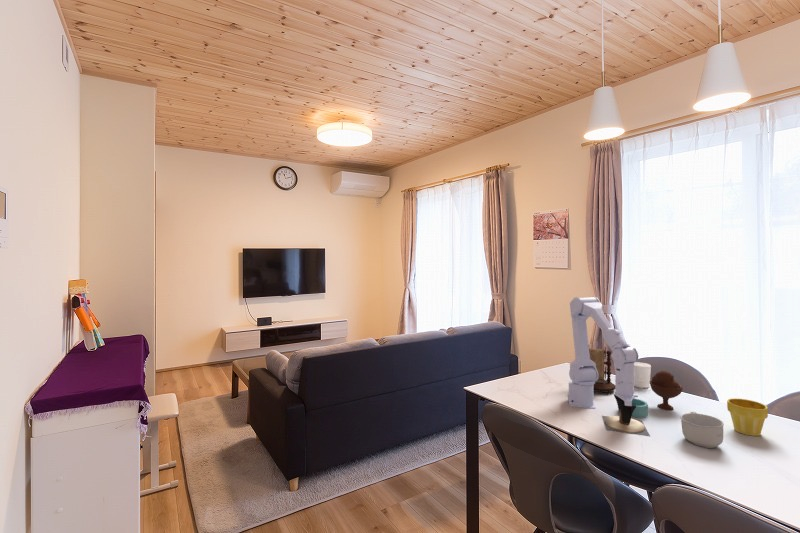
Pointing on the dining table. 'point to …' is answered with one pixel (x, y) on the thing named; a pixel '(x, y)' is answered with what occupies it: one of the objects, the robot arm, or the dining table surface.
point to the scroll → (602, 370)
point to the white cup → (642, 374)
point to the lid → (624, 424)
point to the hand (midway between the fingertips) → (624, 419)
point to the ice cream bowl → (665, 388)
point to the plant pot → (747, 415)
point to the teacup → (702, 429)
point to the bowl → (640, 408)
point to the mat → (625, 432)
